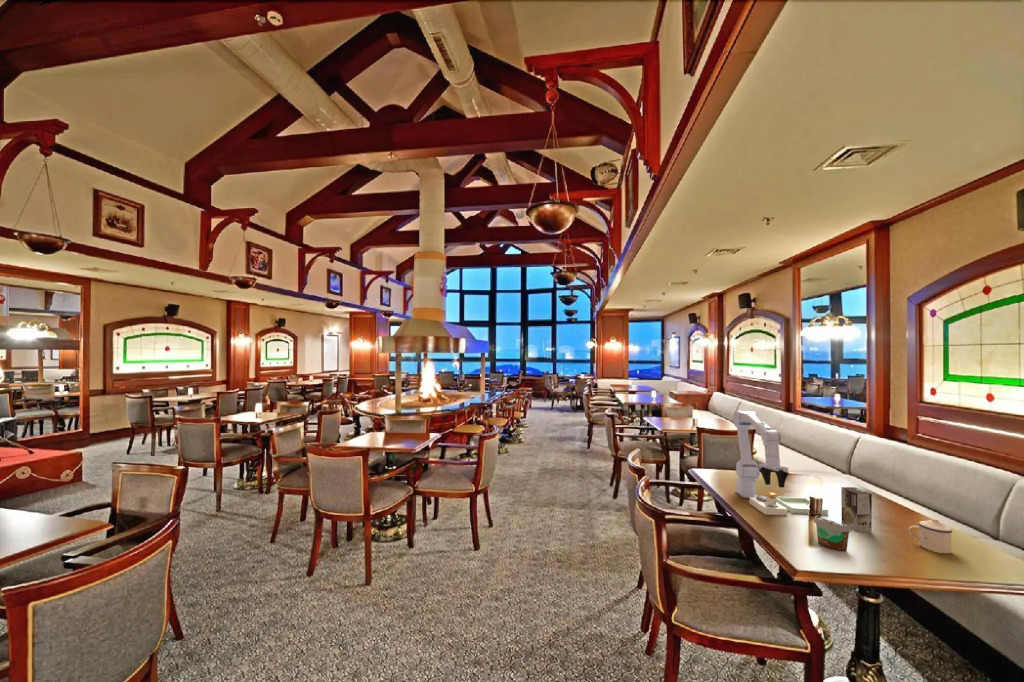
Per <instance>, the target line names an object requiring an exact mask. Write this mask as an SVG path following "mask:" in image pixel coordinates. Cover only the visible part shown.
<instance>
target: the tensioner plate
mask: <svg viewBox="0 0 1024 682" xmlns="http://www.w3.org/2000/svg"><path fill="white" fill-rule="evenodd" d="M766 500H767V496H766V495H765V496H764V495H756V498H753V497H750V498H749V504H750V505H752V507H754V508H756V510H758V511H760V512H761V513H762V514H764V515H769V516H771V515H772V516H788V509H787V508H785V507H783V506H782V505H780V504H779V503H777V502H776V507H768V506H767V505H766Z"/></svg>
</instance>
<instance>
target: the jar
mask: <svg viewBox="0 0 1024 682" xmlns="http://www.w3.org/2000/svg"><path fill="white" fill-rule="evenodd" d="M777 496H778V494H777V493H775V492H773V491H772V492H771V491H767V492H765V497H767V500H766V505H767V506H768V507H776V500H777Z"/></svg>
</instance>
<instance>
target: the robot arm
mask: <svg viewBox="0 0 1024 682" xmlns="http://www.w3.org/2000/svg"><path fill="white" fill-rule="evenodd" d="M732 417H733V419H732V420H733V425H734V427H735V428H736V430H737V437H738V439H737V440H738V445H739V451H740V452H739V453H740V460H738V461H737V462H736V464H735V465H736V466H735V472H736V476H737V480H736V490H735V491H734V492H735V493H736V494H738V495H739V496H741V497H742V498H745V499H746V498H749V499H750V497H753V498H756V496H757V495H756V489H757V488H756V482H757V480H758V479H759V478H760V476H762V478H763V480H764V481H763V482H764V484H765V486H770V485H771V475H772V471H774V472H775V475H776V479H777V483H778V488H785V483H786V480H787V478H788V476H789V467H788V466H786V467H785V466H783V465H781V461H780V459H781V458H780V447H779V446H780V445H779V443H780V442H781V439H782V437H781V436H782V435H781V433H780V431H779V430H778V429H772V428H771V426H769V425H768V424H767V423H766V422H765V421H760V419H759V418H758V414H757V413H756V412H755V411H754V410H751V411H750V410H737V409H736V410H734V412H733V415H732ZM752 426H754V430H755V431H756V432H757V433H758V434H759V435H760V436H761V441H762V444H763V446H764V456H765V463H757V462H756V461H755V460H754V459H753V457H752V451H751V444H750V437H749V431H748V430H749V428H752Z"/></svg>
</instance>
